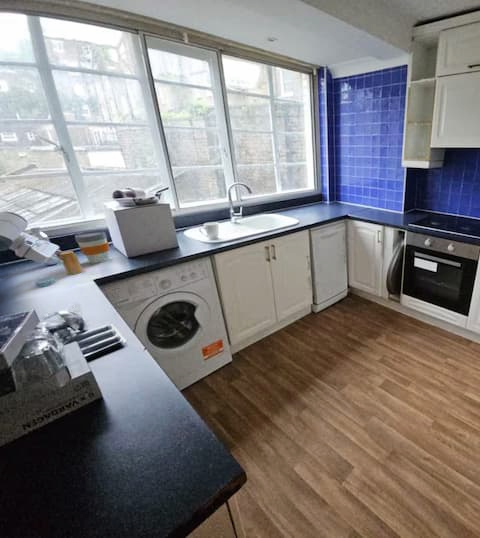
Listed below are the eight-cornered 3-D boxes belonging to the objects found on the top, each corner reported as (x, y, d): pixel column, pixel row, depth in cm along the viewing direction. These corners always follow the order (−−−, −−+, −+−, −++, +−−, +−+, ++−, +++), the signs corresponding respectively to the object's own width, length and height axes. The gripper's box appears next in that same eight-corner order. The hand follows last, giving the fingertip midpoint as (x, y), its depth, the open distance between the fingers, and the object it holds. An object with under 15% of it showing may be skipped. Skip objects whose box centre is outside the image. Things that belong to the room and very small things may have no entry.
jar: (67, 275, 143) (57, 255, 139) (67, 272, 147) (58, 252, 143) (82, 272, 146) (74, 252, 142) (83, 268, 151) (74, 249, 146)
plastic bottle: (52, 266, 155) (35, 229, 147) (40, 266, 155) (21, 230, 147) (64, 261, 161) (47, 226, 153) (52, 262, 161) (35, 226, 153)
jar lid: (58, 282, 136) (56, 278, 135) (40, 288, 131) (38, 284, 130) (50, 280, 138) (49, 276, 138) (33, 285, 133) (31, 282, 132)
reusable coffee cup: (85, 266, 154) (73, 239, 148) (85, 260, 162) (74, 234, 157) (115, 260, 161) (105, 233, 155) (113, 254, 170) (104, 229, 164)
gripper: (30, 244, 142) (65, 258, 151) (14, 256, 126) (55, 271, 135) (38, 234, 142) (73, 248, 151) (24, 244, 126) (64, 260, 135)
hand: (65, 259), depth 143 cm, fingers open, 8 cm apart
